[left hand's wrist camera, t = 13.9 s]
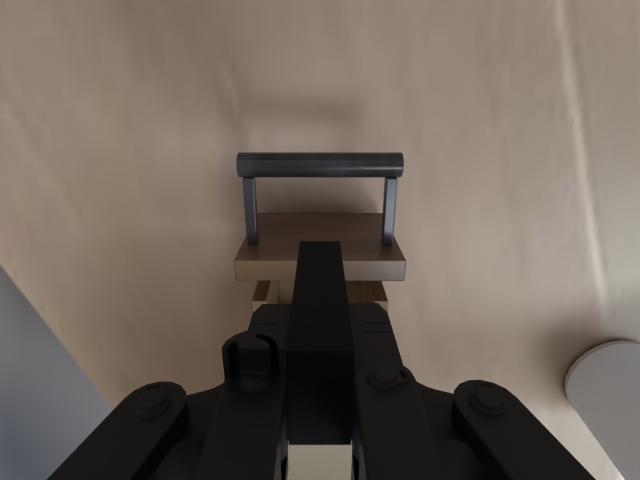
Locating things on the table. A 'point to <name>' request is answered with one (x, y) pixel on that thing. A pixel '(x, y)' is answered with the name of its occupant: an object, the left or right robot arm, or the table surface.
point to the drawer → (319, 227)
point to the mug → (610, 400)
